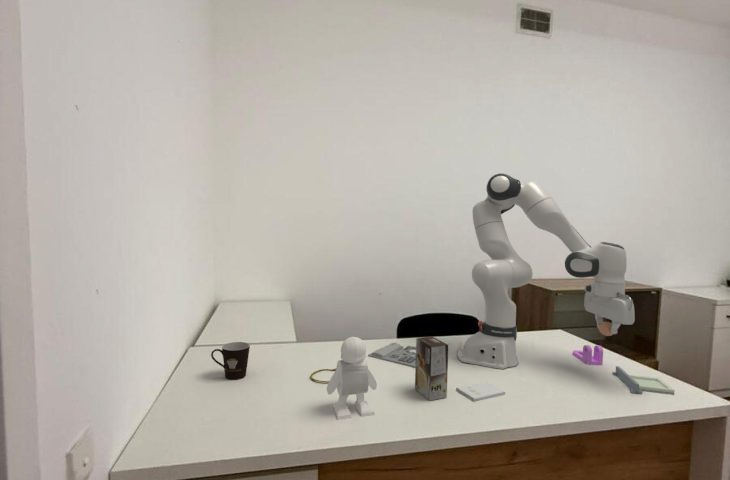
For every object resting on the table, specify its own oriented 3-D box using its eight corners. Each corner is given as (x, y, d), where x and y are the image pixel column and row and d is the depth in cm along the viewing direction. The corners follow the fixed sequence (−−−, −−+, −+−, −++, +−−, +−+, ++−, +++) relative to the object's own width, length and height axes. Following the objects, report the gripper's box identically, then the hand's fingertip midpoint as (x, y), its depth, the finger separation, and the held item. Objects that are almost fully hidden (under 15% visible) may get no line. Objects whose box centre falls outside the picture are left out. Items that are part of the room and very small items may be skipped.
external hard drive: (505, 396, 117) (474, 403, 112) (485, 385, 125) (455, 392, 119) (505, 391, 117) (474, 397, 112) (486, 380, 125) (455, 386, 119)
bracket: (602, 365, 145) (603, 347, 145) (587, 365, 145) (588, 347, 145) (583, 353, 158) (584, 337, 158) (569, 353, 158) (570, 336, 158)
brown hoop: (361, 381, 125) (361, 375, 125) (314, 387, 119) (314, 381, 119) (349, 367, 136) (349, 362, 136) (306, 372, 131) (306, 367, 131)
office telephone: (367, 351, 147) (391, 338, 164) (367, 358, 148) (391, 345, 164) (423, 364, 135) (443, 349, 152) (422, 371, 135) (443, 355, 152)
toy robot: (330, 420, 99) (332, 344, 98) (323, 404, 107) (325, 334, 107) (381, 413, 103) (383, 340, 102) (370, 399, 112) (372, 331, 111)
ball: (594, 334, 132) (595, 320, 132) (605, 333, 133) (606, 319, 133) (607, 338, 127) (608, 324, 127) (618, 337, 129) (619, 323, 129)
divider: (631, 392, 121) (632, 383, 121) (612, 374, 136) (612, 365, 136) (642, 394, 120) (642, 384, 120) (621, 375, 136) (622, 366, 136)
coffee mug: (254, 374, 127) (255, 344, 127) (236, 383, 119) (236, 352, 119) (228, 367, 132) (228, 339, 132) (208, 376, 124) (209, 346, 124)
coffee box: (447, 397, 114) (450, 344, 113) (429, 401, 111) (431, 346, 111) (430, 385, 122) (432, 335, 122) (413, 388, 120) (415, 337, 119)
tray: (638, 390, 123) (638, 386, 123) (625, 378, 133) (625, 374, 133) (674, 394, 121) (674, 390, 121) (658, 382, 130) (658, 378, 130)
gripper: (641, 296, 119) (639, 340, 120) (598, 285, 140) (596, 323, 140) (622, 296, 119) (619, 340, 120) (581, 285, 139) (579, 322, 140)
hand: (606, 330), depth 130 cm, fingers closed on ball, 5 cm apart
